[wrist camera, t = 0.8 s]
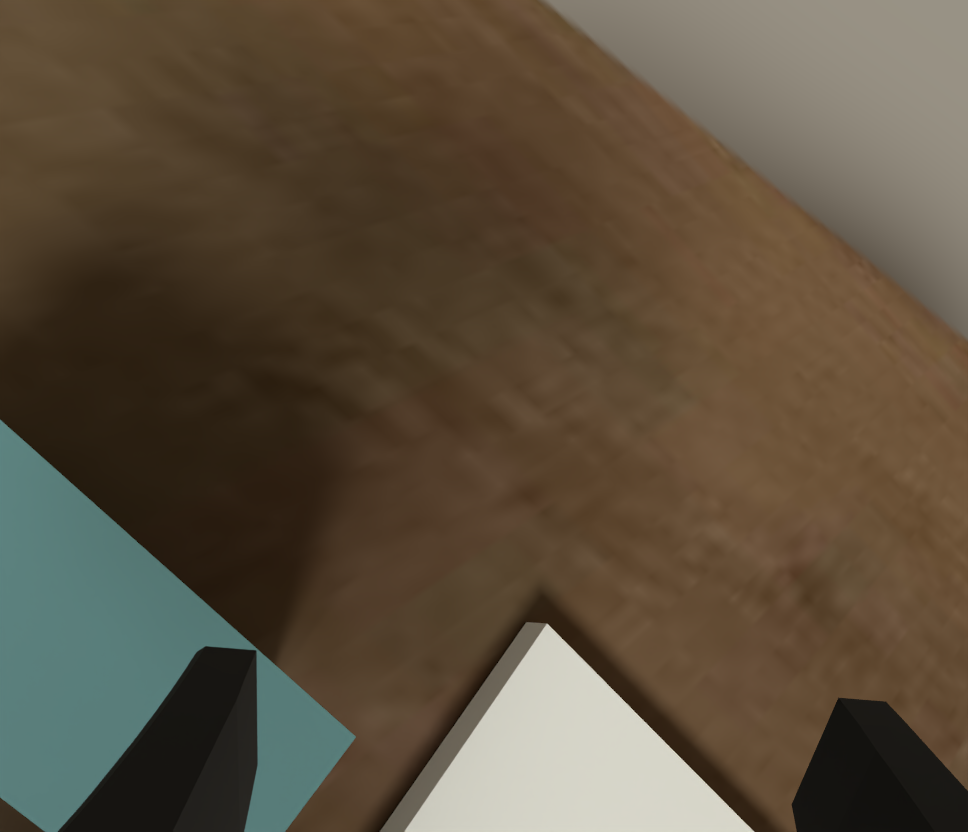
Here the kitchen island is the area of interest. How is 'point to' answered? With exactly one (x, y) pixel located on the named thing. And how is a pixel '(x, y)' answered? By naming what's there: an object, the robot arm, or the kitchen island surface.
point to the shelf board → (556, 758)
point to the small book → (115, 656)
